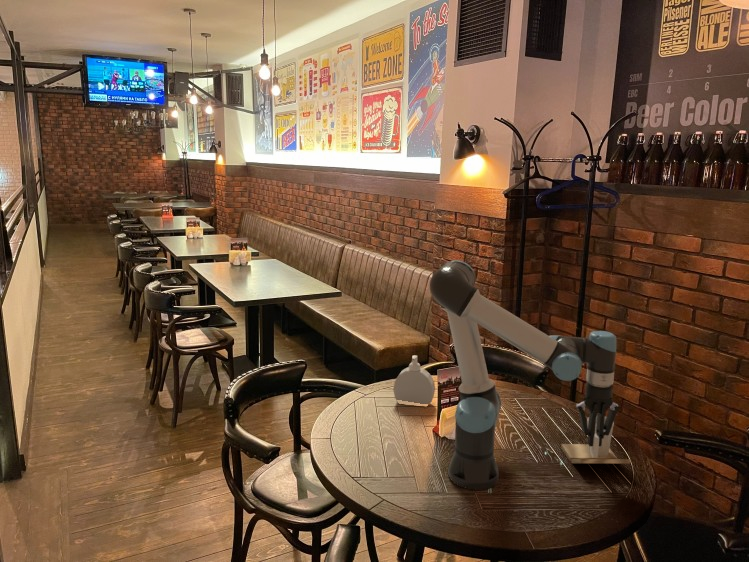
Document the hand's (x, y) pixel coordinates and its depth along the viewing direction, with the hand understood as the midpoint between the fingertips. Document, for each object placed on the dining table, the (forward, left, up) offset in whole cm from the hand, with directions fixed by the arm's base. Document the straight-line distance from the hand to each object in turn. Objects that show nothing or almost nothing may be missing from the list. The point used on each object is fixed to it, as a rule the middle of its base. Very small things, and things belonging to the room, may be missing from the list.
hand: (593, 455), depth 171 cm
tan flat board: (+3, +11, -6) cm, 13 cm away
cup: (+6, +11, -6) cm, 14 cm away
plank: (+3, +2, -4) cm, 5 cm away
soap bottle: (-52, +50, -6) cm, 73 cm away
